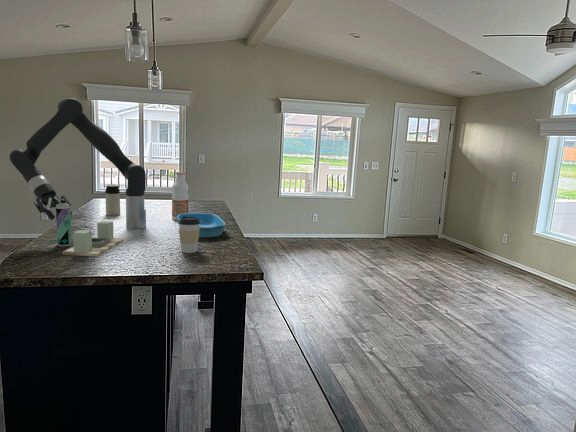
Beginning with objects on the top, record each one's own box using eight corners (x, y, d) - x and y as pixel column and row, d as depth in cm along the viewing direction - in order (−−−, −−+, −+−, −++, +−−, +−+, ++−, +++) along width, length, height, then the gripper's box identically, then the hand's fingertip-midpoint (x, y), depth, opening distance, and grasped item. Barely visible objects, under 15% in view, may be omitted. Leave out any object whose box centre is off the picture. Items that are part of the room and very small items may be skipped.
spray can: (60, 243, 188) (58, 198, 185) (73, 243, 189) (72, 198, 185) (55, 246, 183) (53, 200, 179) (68, 246, 183) (66, 200, 180)
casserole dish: (229, 239, 212) (229, 225, 211) (183, 241, 204) (183, 226, 203) (214, 224, 246) (214, 211, 244) (174, 225, 238) (174, 212, 236)
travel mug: (115, 216, 252) (114, 186, 249) (103, 215, 254) (102, 185, 250) (122, 214, 260) (122, 184, 257) (111, 213, 261) (110, 183, 258)
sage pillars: (102, 237, 196) (102, 220, 195) (113, 238, 196) (113, 221, 195) (74, 252, 172) (73, 232, 170) (86, 252, 172) (85, 233, 170)
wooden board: (93, 239, 197) (93, 237, 197) (123, 241, 197) (123, 238, 197) (62, 254, 172) (62, 251, 171) (96, 256, 171) (96, 253, 171)
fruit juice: (169, 218, 253) (169, 171, 248) (183, 217, 259) (183, 171, 254) (177, 221, 246) (177, 173, 241) (191, 220, 253) (191, 172, 248)
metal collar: (90, 241, 188) (90, 237, 188) (109, 243, 188) (109, 238, 188) (80, 246, 180) (79, 242, 180) (100, 247, 180) (100, 243, 179)
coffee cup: (203, 249, 189) (204, 216, 187) (192, 254, 181) (193, 220, 178) (185, 247, 192) (186, 214, 190) (174, 251, 184) (174, 217, 181)
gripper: (30, 184, 178) (51, 214, 176) (60, 181, 191) (80, 209, 189) (22, 195, 181) (43, 225, 179) (52, 192, 194) (71, 219, 192)
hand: (62, 217), depth 184 cm, fingers open, 8 cm apart
